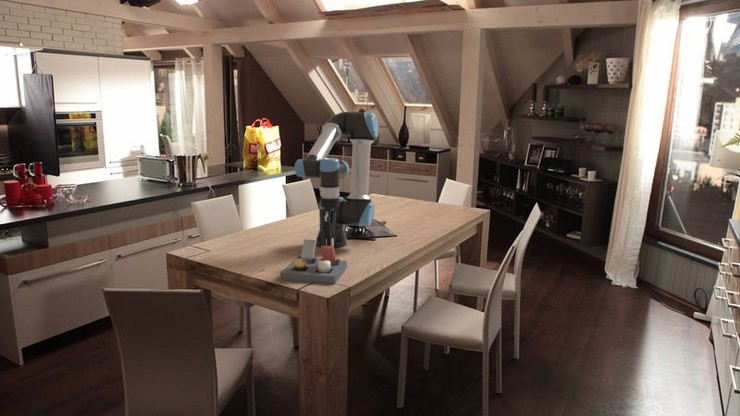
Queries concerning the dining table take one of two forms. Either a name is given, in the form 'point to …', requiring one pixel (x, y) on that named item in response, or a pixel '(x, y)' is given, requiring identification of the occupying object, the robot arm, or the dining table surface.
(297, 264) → the button brass
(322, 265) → the button white
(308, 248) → the paddle grey
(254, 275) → the dining table surface
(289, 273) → the panel
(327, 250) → the paddle red
